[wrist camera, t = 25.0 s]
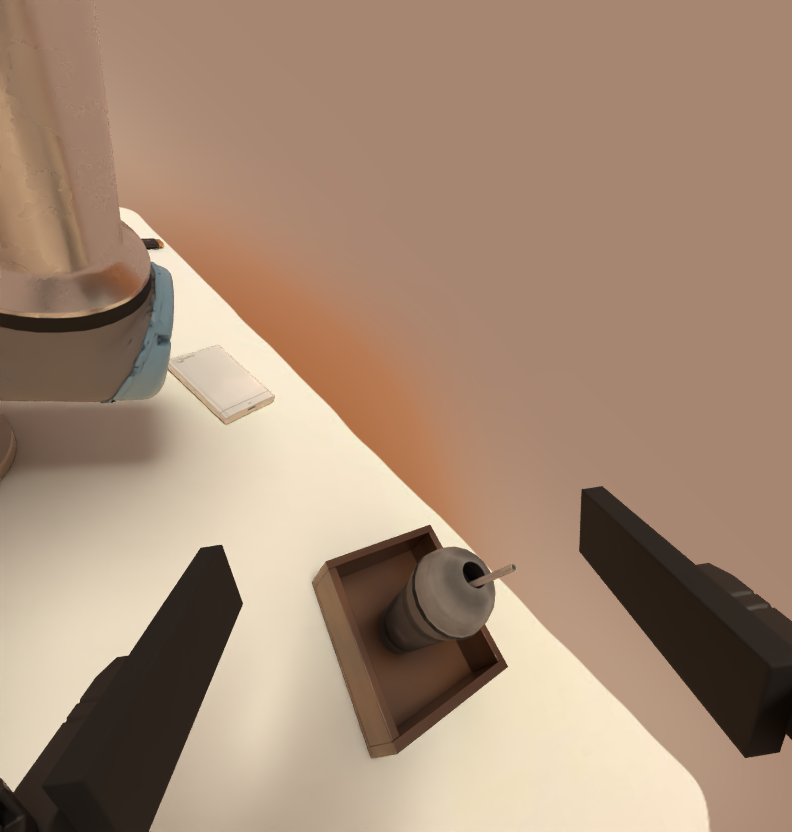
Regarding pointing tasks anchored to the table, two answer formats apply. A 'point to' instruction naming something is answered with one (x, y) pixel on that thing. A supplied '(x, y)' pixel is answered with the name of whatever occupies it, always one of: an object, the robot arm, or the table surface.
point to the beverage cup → (440, 601)
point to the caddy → (388, 672)
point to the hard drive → (220, 383)
